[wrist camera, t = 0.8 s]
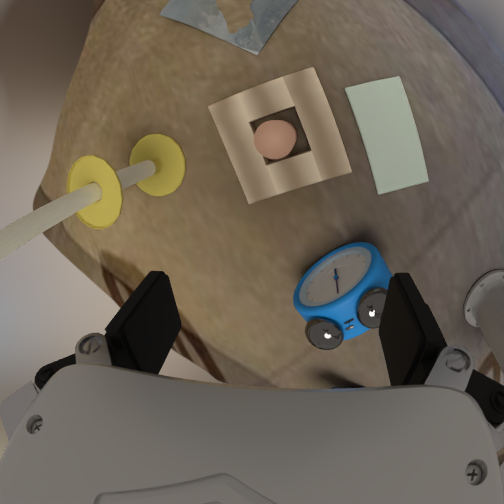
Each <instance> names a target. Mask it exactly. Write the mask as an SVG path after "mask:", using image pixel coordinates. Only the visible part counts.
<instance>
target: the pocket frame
mask: <svg viewBox="0 0 504 504" xmlns="http://www.w3.org/2000/svg"><path fill="white" fill-rule="evenodd" d="M208 107H209V110H210V112H211V114H212V117H213V119H214V121H215V124H216V126H217V128H218V131H219V133H220V136H221V138H222V140H223V143H224V145H225V147H226V150H227V152H228V155H229V157H230V159H231V162H232V164H233V167H234V169H235V171H236V174H237V176H238V179H239V181H240V183H241V186H242V188H243V191H244V193H245V196H246V198H247V200H248V203H249V204H250V203H253V202H256V201H259V200H262V199H265V198H269V197H272V196H275V195H278V194H281V193H284V192H287V191H291V190H294V189H297V188H300V187H303V186H307V185H310V184H313V183H317V182H320V181H323V180H327V179H330V178H334V177H337V176H340V175H344V174H347V173H351V172H352V170H351V167H350V164H349V161H348V158H347V154H346V151H345V148H344V145H343V142H342V139H341V136H340V133H339V131H338V128H337V125H336V122H335V119H334V117H333V114H332V111H331V109H330V106H329V103H328V101H327V98H326V96H325V93H324V91H323V88H322V86H321V84H320V81H319V79H318V76H317V74H316V72H315V70H314V67H312V68H308V69H305V70H302V71H298V72H295V73H292V74H289V75H286V76H283V77H280V78H277V79H274V80H272V81H269V82H266V83H263V84H261V85H258V86H255V87H253V88H250V89H248V90H245V91H243V92H240V93H238V94H235V95H233V96H231V97H228V98H226V99H224V100H222V101H219V102H217V103H215V104H213V105H210V106H208ZM293 107H295V108H296V111H297V113H298V116H299V118H300V121H301V123H302V126H303V129H304V131H305V134H306V136H307V139H308V142H309V145H310V147H311V149H308V150H305V151H302V152H299V153H295V154H292V155H289V156H286V157H283V158H280V159H277V160H274V161H271V162H269V160H268V158H266V157H264V156H263V155H261V154H260V153H259V152H258V150H257V149H256V147H255V144H254V135H255V132H256V128H255V125H254V123H253V122H254V121H257V120H259V119H262V118H265V117H267V116H270V115H273V114H276V113H279V112H282V111H284V110H287V109H290V108H293Z"/></svg>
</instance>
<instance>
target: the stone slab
mask: <svg viewBox="0 0 504 504" xmlns="http://www.w3.org/2000/svg"><path fill="white" fill-rule="evenodd" d="M297 1H298V0H253V1H252V3H251V5H250V9H251V11H253V15H254V20H253V19H251V20H250V23H249V25H248V26H246V27H244V28H243V29H242V28H237V29H239V31H237V32H236V33H234V34H231V33H229V31H228V29H227V23H226V20H225V19H224V16H223V14H222V13H221V11H220V10H218V7H217V4H216V0H170V1H169V2H168V3H167V5H166V6H165V7H164V9H163V10H162V11H161V13H160V14H159V15H161V16H164V17H168V18H171V19H174V20H177V21H180V22H182V23H185V24H188V25H190V26H193V27H195V28H197V29H200V30H202V31H204V32H207V33H209V34H211V35H213V36H215V37H218V38H220V39H222V40H225V41H227V42H229V43H232V44H234V45H236V46H238V47H240V48H242V49H245V50H247V51H249V52H251V53H253V54H255V55H258V54H259V52H260V51H261V49H262V48H263V46H264V45H265V43H266V42H267V40H268V38H269V37H270V36H271V34H272V33H273V31H274V30H275V28H276V27H277V26H278V24H279V23H280V22H281V20H282V19H283V17H284V16H285V15H286V13H287V12H288V11H289V10H290V9H291V8H292V6H293V5H294V4H295V3H296V2H297Z"/></svg>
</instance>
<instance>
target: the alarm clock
mask: <svg viewBox="0 0 504 504" xmlns="http://www.w3.org/2000/svg"><path fill="white" fill-rule="evenodd" d="M390 277H393V276H392V274H391V272H390V271H389V269H388V267H387V265H386V263H385V261H384V260H383V258H382V256H381V254H380V253H379V251H378V249H377V248H376V247H375V246H374V245H372V244H370V243H366V242H356V243H351V244H347V245H344V246H342V247H339V248H337V249H335V250H333V251H332V252H330V253H328V254H327V255H325V256H324V257H322V258H321V259H320V260H319V261H317V262H316V263H315V264H314V265H313V266H312V267H311V268H310V269H309V270H308V271H307V272H306V273H305V274H304V275H303V277H302V278H301V280H300V281H299V283H298V285H297V287H296V289H295V291H294V296H293V303H294V306H295V308H296V309H297V311H298V312H299V313H300V314H301V316H302V317H303V318H304V319H305V320H306V322H307V324H306V327H305V334H306V337H307V339H308V341H309V342H310V343H311V344H312V345H313V346H315V347H316V348H319V349H322V350H331V349H334V348H336V347H338V346H339V345H340V344H341V343H342V341H343V340H347V339H351V338H354V337H356V336H358V335H360V334H362V333H364V332H366V331H367V330H369V329H370V328H372V329H374V328H378V327H379V325H380V321H381V317H382V313H383V309H384V304H385V300H386V295H387V290H388V285H389V280H390Z"/></svg>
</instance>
